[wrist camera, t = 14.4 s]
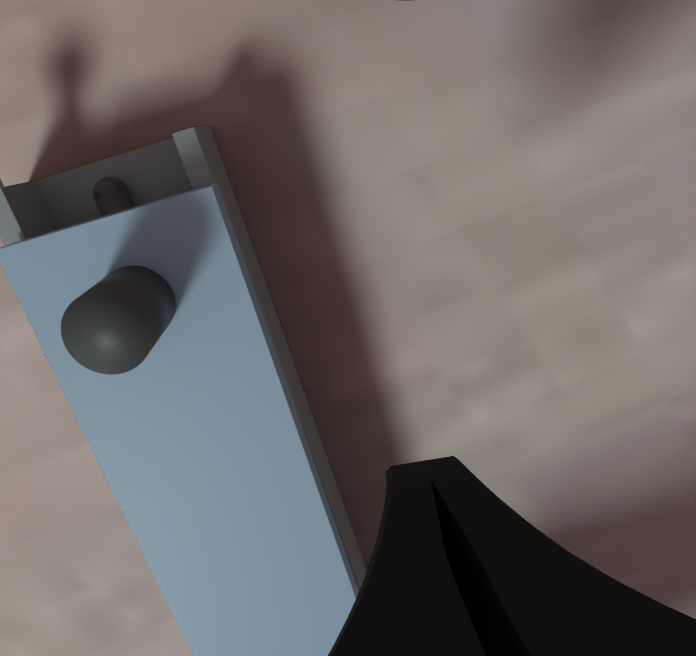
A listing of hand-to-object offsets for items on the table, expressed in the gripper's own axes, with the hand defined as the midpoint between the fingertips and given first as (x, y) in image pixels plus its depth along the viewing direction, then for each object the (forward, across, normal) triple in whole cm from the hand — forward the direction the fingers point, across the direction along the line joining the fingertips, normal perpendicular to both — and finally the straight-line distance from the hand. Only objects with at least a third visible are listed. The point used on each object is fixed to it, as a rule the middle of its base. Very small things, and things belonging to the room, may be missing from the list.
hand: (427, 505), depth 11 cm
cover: (+7, +5, +3) cm, 9 cm away
